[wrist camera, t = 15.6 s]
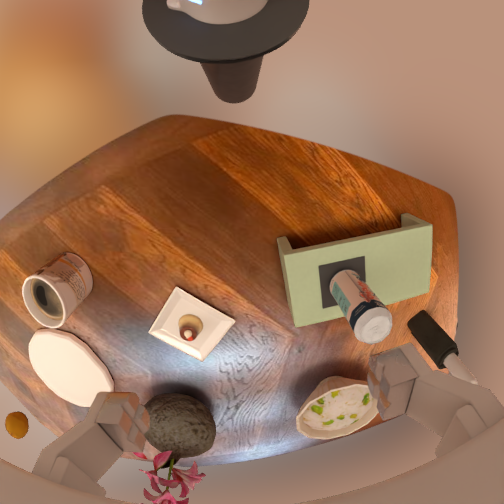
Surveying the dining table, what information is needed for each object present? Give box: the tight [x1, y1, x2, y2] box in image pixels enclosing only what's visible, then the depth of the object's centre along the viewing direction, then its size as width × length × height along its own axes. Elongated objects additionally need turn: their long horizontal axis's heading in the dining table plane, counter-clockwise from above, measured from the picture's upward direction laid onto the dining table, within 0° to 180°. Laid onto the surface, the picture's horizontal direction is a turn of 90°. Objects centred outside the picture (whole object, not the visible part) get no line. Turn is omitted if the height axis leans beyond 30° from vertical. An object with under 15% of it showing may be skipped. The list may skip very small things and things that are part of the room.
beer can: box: [330, 270, 392, 345], centre depth 34 cm, size 5×5×12 cm
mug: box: [22, 252, 93, 328], centre depth 42 cm, size 10×12×11 cm
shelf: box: [277, 213, 432, 328], centre depth 44 cm, size 12×24×8 cm, turn 101°
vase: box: [133, 393, 216, 504], centre depth 44 cm, size 17×17×30 cm
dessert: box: [149, 287, 235, 362], centre depth 48 cm, size 12×12×5 cm
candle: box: [408, 310, 477, 385], centre depth 41 cm, size 5×5×25 cm
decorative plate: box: [29, 328, 114, 407], centre depth 53 cm, size 25×4×25 cm
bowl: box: [296, 376, 379, 439], centre depth 53 cm, size 19×19×10 cm
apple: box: [5, 412, 29, 439], centre depth 60 cm, size 10×10×12 cm
